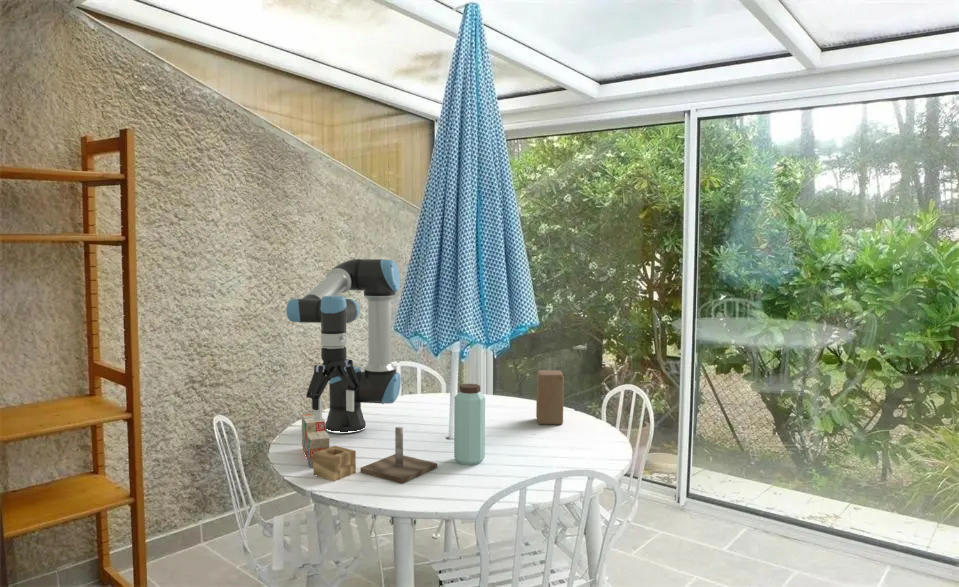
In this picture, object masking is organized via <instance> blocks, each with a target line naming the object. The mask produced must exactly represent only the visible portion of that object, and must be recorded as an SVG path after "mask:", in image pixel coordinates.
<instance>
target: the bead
mask: <svg viewBox="0 0 959 587" xmlns="http://www.w3.org/2000/svg"><path fill="white" fill-rule="evenodd" d="M356 458H357V454H356V450H354V449H350V448H345V447H342V446H337V445H333V446H329V448H327V449H324V450H321V451H318V452H315V453H313V467H312V468H313V476H314V475H317V476H316V477H318V476H320V477H319V478H321V477H323V478H322V479H325V478H327V479H326V480H328V479H329V480H328V481H332V482H337V481H339V480H341V478H342V479H344V478H346V476H347V477H350V476H351V474H352V475H353V474H356V473H357V472H356V471H357V465H356V464H357V462H356V461H357V460H356ZM336 480H337V481H336Z"/></svg>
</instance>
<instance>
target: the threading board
mask: <svg viewBox="0 0 959 587" xmlns="http://www.w3.org/2000/svg"><path fill="white" fill-rule="evenodd" d="M394 430H395V431H394V432H395V433H394V434H395V437H394V438H395V440H394V444H395V449H394V450H395V452H394V453H395V454H392V455H390V456H386V457H384V458H382V459H379V460H376V461H373V462H372V463H369V464H366V465H365V466H361V467H360V468H359V471H360V473H361V474H365V475H369V476H373V477H376V478H379V479H384V480H387V481H391V482H395V483H399V484H401V485H402V484H404V483H407V482H409V481H411V480H414V479H416V478H419V477H420V476H423V475H425V474H427V473H429V472H432V471H433V470H436V469H438V462H433V461H430V460H429V461H428V460H424V459H421V458H416V457H411V456H408V455H404V427H402V426H397V427H395V429H394Z"/></svg>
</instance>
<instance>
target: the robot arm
mask: <svg viewBox="0 0 959 587" xmlns="http://www.w3.org/2000/svg"><path fill="white" fill-rule="evenodd" d="M400 289H401V274H400V270H399V266H398V264H397V262H395V261H394V260H392V259H385V258H384V259H383V258H381V259H379V258H378V259H377V258H375V259H372V258H371V259H369V258H368V259H367V258H366V259H365V258H364V259H362V258H355V259H350V260H346V261H344V262H341V263H339V264H337V265H335V266H334V267H333V268H331V269H330V270H329V271H328V272H327V274H326V276H325V278H324V279H323V280H321V281H320V283H318V284H317V285H316V286H315V287H313V289H311V290H310V291H309V292H308V293H307V294H305V295H304V296H303V297H302V298H291V299H289V300H288V302H287V304H286V310H285V311H286V317H287V319H288V320H289V321H290V322H292V323H299V324H301V323H306V324H307V323H308V324H309V323H312V324H313V323H314V324H319V323H320V345H321V348H320V353H321V356H320V359H321V360H322V365H321V364H315V365H314V368H313V369H314V370H313V375H312V377H311V380H310V383H309V385H308V386H309V387H308V389H307V392H306V396H305V397H306V398H308V399H311V404H312V405H311V409H312V410H313V414H314V420H317V421H322V418H323V407H322V406H323V400H322V399H323V398H321V396H322V395H323V393H324V391H325V388H326V387H327V385H329V389H328V390H329V411H328V414H327V418H326V420H325V428H326V429H328V430H331V431H340V432H348V431H357V430H361V429H363V428H365V426H366V420H365V419H364V415H363V412H362V407H361V406H362V405H361V404H382V405H384V404H390V405H391V404H394V403H395V402H396V400H397V399H398V397H399V394H400V390H401V383H402V377H401V376H402V375H401V373H400V372H397V368H396V366H395V365H394V364H393V362H392V356H393V354H392V348H393V347H392V345H393V344H392V339H393V338H392V300H393V299H394V298H395V297H396V292H398V291H400ZM348 291H363V297H365V299H366V300H367V322H368V323H367V325H368V326H367V327H368V329H367V330H368V331H367V332H368V364H367V365H366V366H365V367H364V371H362V369H361V367H359V366H354V361H353V359H347V358H348V357H347V347H346V345H347V324H350V323H353V322H354V321H355V320H356V319H357V318H358V317H359V316H360V313H361V312H360V311H361V310H360V306H359V304H358V302H357V301H356V300H355V299H351V298H347V297H345V296H344V295H341V294H345V293H346V292H348ZM365 429H366V428H365Z"/></svg>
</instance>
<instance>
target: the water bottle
mask: <svg viewBox="0 0 959 587" xmlns="http://www.w3.org/2000/svg"><path fill="white" fill-rule="evenodd" d="M453 398H454V406H453V407H454V409H453V413H454V416H453V417H454V418H453V419H454V420H453V422H454V423H453V424H454V426H453V427H454V428H453V434H454V436H453V437H454V438H453V439H454V442H453V445H454V446H453V448H454V450H453V451H454V453H453V457H454V459H455V460H456V462H457V463H459V465H466V466H473V465H479V464H481V463H482V462H483V461H484V459H485V458H486V457H485V456H486V448H485V447H486V446H485V445H486V443H485V442H486V396H485V395H484V394H483V393H482V392H481V385H480V384H477V383H463V384H460V385H459V391H458V393H456V395H455V396H454V397H453Z"/></svg>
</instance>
